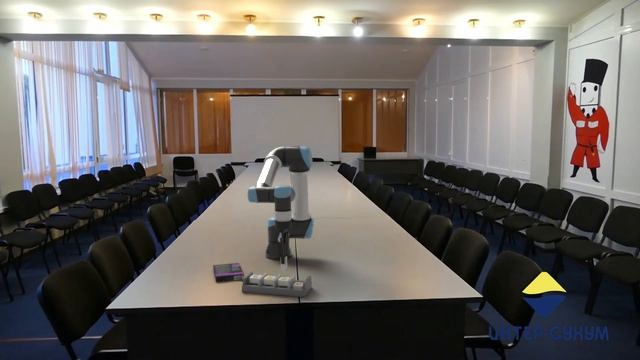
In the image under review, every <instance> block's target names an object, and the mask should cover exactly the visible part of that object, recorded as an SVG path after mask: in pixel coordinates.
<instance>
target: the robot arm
mask: <svg viewBox="0 0 640 360" xmlns="http://www.w3.org/2000/svg"><path fill="white" fill-rule="evenodd" d="M281 168H288V172H289V173H291V183H292V185H291V186H290V185H285V184H284V185H283V184H282V185H276V186H273V184H274V183H275V180H276V179H275V178H276V176H277V173H278V171H279V170H280V169H281ZM311 168H313V156H312V151H311V148H310V147H309V146H304V145H287V146H285V145H283V146H282V145H281V146H278V147H276V148H274V149H272V150H271V151H270V152H268V153H267V154H266V155H265V157H264V160H263V167H262V169H261V172H260V175H259V177H258V178H257V179H258V180H257V182H256V184H255V186H250V187H248V190H247V199H248V202H249V203H256V204H259V203H261V204H267V203H268V204H274V212H273V214H274V216H271V217H269V218H268V220H267V240H268V241H267V245H266V249H265V253H264V255H265V257H266V258H267V259H269V260H270V259H271V260H280V271H282V272H287V271H288V258H290V257H292V249H291V247H290V239H293V240H294V239H297V240H304V239H305V240H307V239H308V240H309V239H311V238H312V237H313V232H314V226H315V219H314V218H312V215H311V213H310V212H309V190H308V173H309V172H310V171H311ZM292 208H293V209H292ZM292 211H293V213H292Z"/></svg>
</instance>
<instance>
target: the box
mask: <svg viewBox="0 0 640 360" xmlns="http://www.w3.org/2000/svg"><path fill="white" fill-rule="evenodd" d="M212 268H213V269H212V270H213V274H214V280H215V283H219V282H220V283H221V282H228V281H239V280H243V277H245V274H244V271H243V268H242V266H241V264H240V262H235V263H234V262H233V263H221V264H212Z"/></svg>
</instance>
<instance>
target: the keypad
mask: <svg viewBox="0 0 640 360" xmlns="http://www.w3.org/2000/svg"><path fill="white" fill-rule="evenodd" d="M252 275H254V271H252V270H251V271H249V272H248V273H247V274H245V275H244V277H243V279H242V285H241V292H243V293H253V294H263V295H264V294H266V295H273V296H287V297H297V298H306V296H307V295H308V294H309V292H310V291H311V289H312V287H313V286H312V285H313V284H312V283H313V282H312V276H311V275H308V276H307V277H306V278H305V280H297V279H296V275H295V274H293V275H292V277H290V280H289V281H288V286H280V285H278V280H279V279H280V278H281V277H282V274H281V273H279V274H278V275H277V276H276V278H275V279H274V280H273V285H269V284H264V278H265V277H266V276H268V272H265V273H263V275H262V277H260V278H259V279H258V284H257V283H250V280H249V278H250V277H251V276H252ZM295 282H303V290H301V289H293V284H294V283H295Z"/></svg>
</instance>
